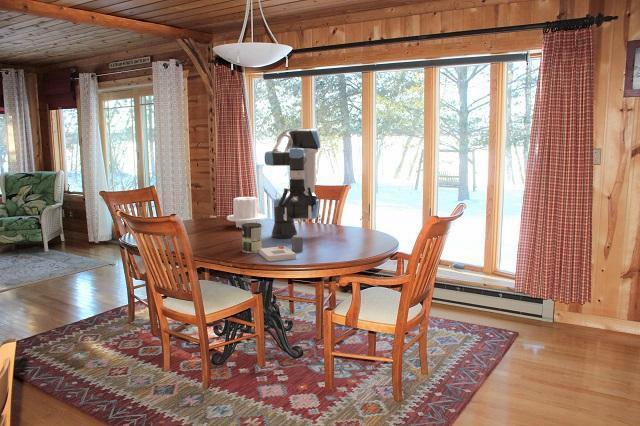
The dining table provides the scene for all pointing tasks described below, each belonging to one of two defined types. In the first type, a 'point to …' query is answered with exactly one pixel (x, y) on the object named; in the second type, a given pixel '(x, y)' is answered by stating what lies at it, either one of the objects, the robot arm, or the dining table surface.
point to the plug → (297, 243)
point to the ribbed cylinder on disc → (245, 211)
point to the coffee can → (251, 237)
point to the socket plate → (277, 253)
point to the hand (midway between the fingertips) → (297, 219)
